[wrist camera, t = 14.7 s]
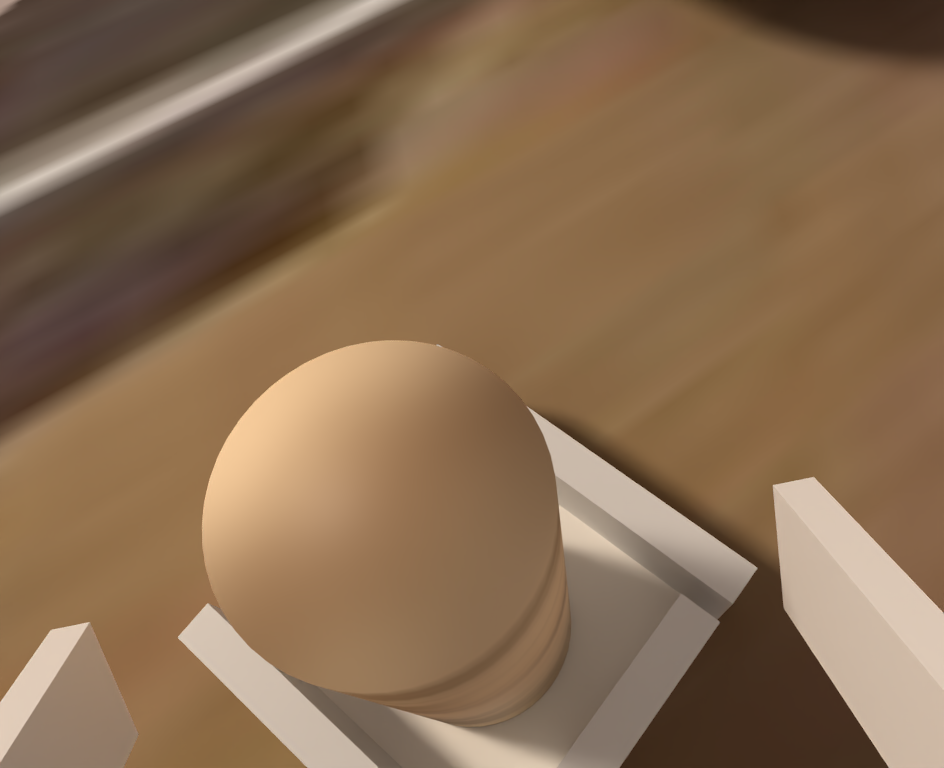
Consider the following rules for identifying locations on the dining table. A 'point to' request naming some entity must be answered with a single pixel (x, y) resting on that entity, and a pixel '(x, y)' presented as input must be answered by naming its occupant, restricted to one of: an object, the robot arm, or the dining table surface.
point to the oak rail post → (394, 534)
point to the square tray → (587, 661)
